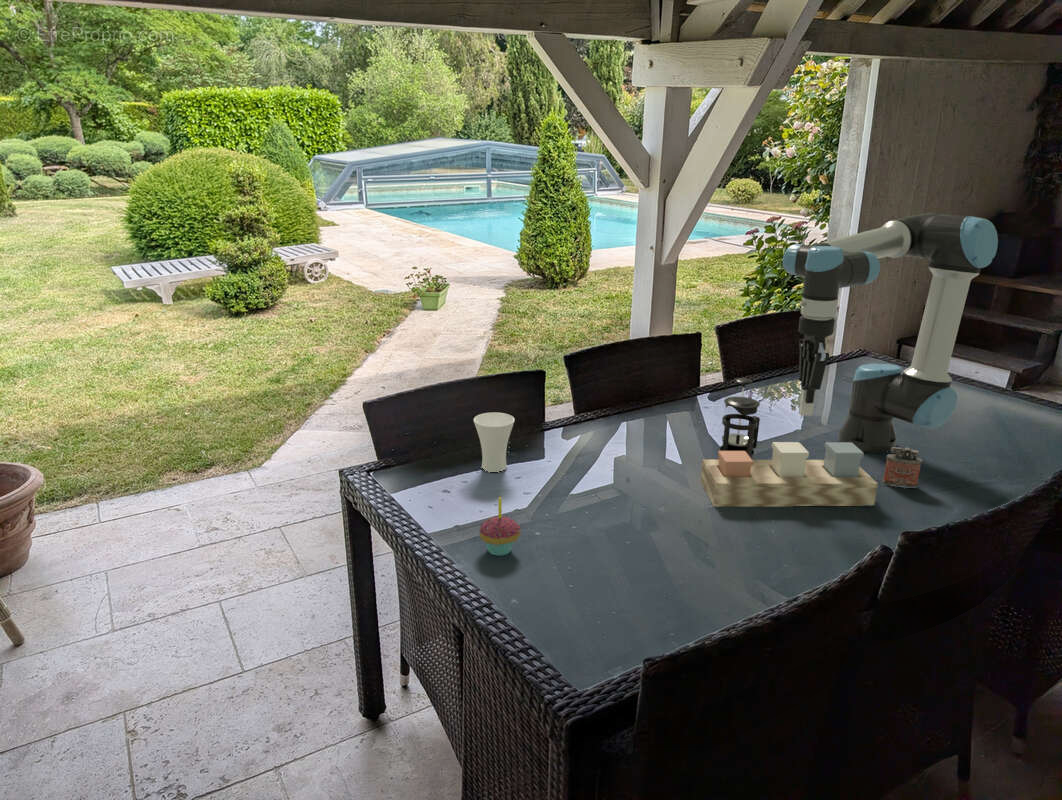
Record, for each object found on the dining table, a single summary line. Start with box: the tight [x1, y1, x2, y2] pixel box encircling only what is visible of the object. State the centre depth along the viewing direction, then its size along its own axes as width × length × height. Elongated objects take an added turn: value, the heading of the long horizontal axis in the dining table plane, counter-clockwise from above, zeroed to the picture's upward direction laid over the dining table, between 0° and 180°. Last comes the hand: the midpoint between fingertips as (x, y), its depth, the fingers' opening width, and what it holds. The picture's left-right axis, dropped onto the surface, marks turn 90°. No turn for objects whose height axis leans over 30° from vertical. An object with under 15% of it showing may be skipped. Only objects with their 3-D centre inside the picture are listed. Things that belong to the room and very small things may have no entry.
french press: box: [717, 377, 761, 460], centre depth 203 cm, size 12×9×23 cm
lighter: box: [881, 446, 923, 487], centre depth 192 cm, size 8×3×10 cm, turn 71°
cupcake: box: [479, 493, 522, 557], centre depth 158 cm, size 9×8×12 cm
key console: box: [699, 459, 879, 508], centre depth 187 cm, size 38×14×6 cm, turn 92°
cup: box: [473, 411, 516, 473], centre depth 197 cm, size 10×10×14 cm
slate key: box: [823, 441, 865, 477], centre depth 185 cm, size 7×7×6 cm
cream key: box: [771, 441, 810, 477], centre depth 185 cm, size 7×7×6 cm
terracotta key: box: [717, 450, 753, 477], centre depth 185 cm, size 7×7×6 cm
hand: (805, 414), depth 181 cm, fingers closed
